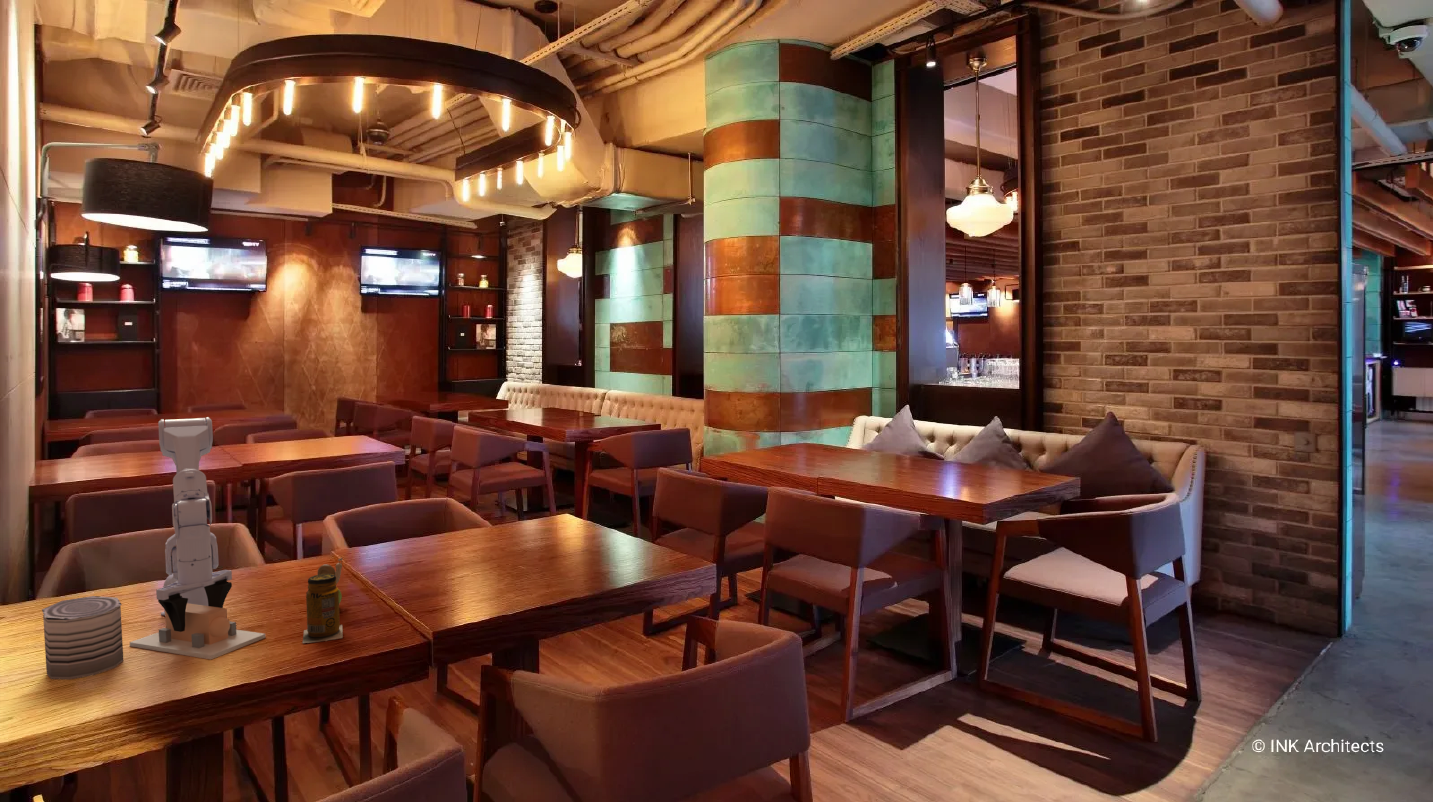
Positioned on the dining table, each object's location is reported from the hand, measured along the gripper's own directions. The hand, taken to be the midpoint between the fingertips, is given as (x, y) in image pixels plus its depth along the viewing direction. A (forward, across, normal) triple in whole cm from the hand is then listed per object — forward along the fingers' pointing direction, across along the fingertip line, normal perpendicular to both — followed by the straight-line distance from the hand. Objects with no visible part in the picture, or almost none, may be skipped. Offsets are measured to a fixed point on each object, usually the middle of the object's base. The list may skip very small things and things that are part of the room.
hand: (197, 624), depth 158 cm
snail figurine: (+4, +24, -10) cm, 26 cm away
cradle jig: (+4, 0, 0) cm, 4 cm away
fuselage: (+3, 0, 0) cm, 3 cm away
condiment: (+4, +11, -21) cm, 24 cm away
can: (+4, -16, +8) cm, 18 cm away
